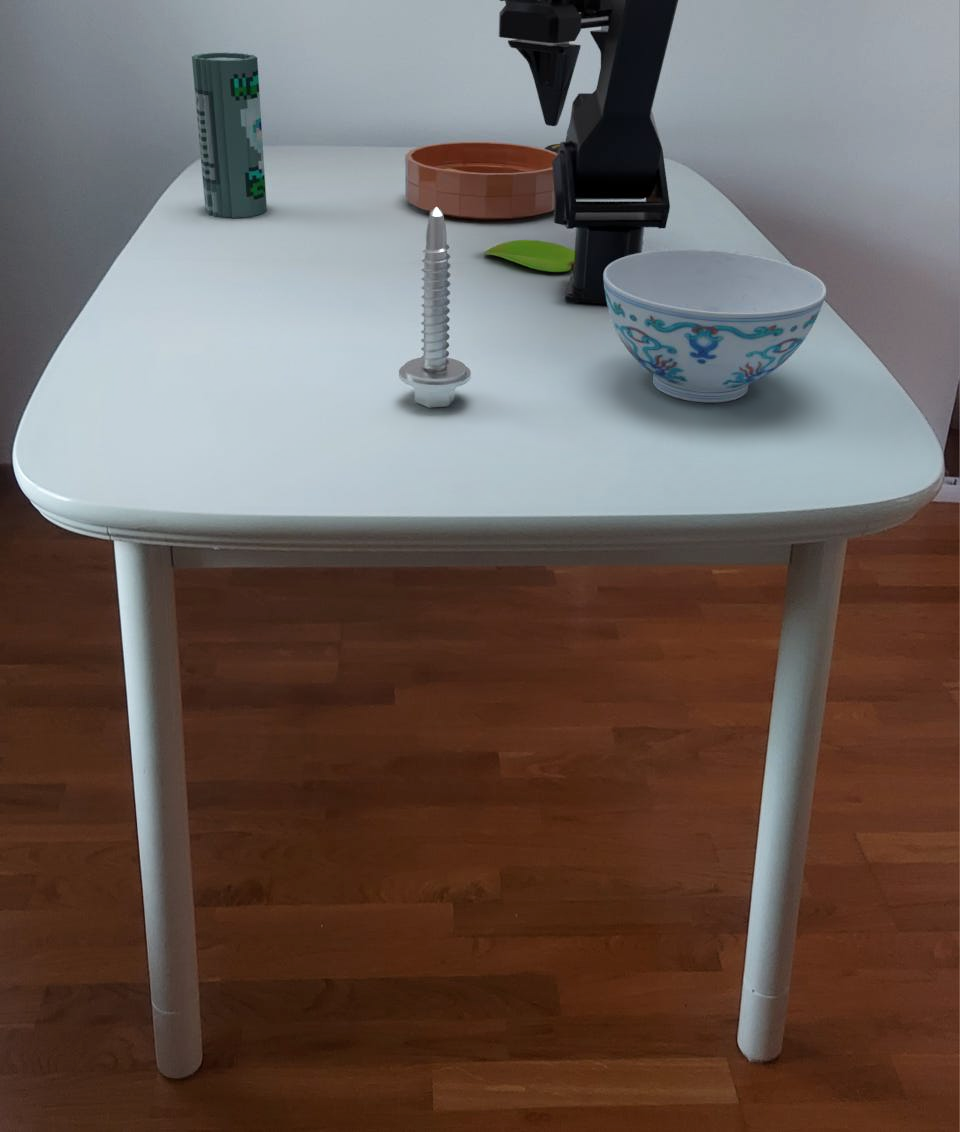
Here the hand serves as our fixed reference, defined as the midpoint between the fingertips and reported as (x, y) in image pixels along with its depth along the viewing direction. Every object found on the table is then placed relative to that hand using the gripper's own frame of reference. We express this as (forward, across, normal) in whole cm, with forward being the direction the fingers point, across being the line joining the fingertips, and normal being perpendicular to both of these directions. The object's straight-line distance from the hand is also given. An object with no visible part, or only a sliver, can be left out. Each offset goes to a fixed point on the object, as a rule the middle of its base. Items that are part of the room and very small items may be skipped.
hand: (580, 119), depth 109 cm
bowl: (+12, -8, -18) cm, 23 cm away
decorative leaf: (+12, +7, 0) cm, 14 cm away
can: (+12, +13, -34) cm, 38 cm away
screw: (+12, +38, +15) cm, 43 cm away
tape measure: (+12, -24, -18) cm, 32 cm away
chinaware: (+12, +24, +27) cm, 38 cm away
